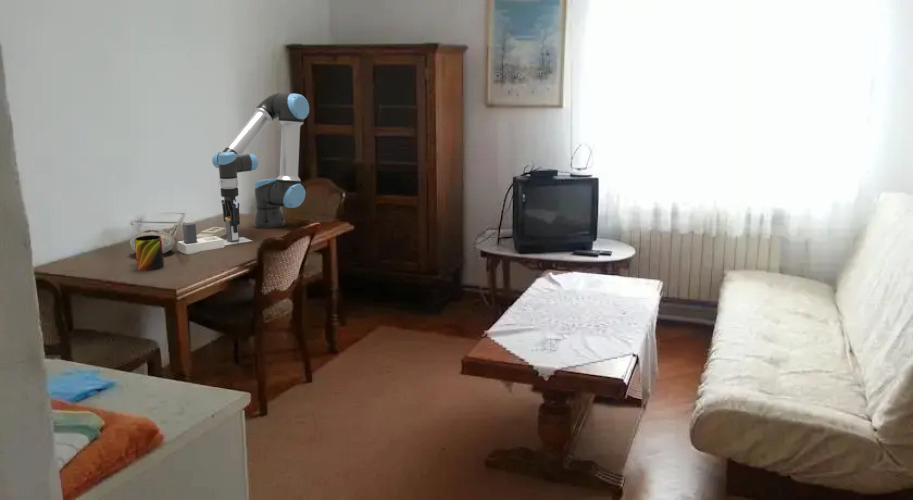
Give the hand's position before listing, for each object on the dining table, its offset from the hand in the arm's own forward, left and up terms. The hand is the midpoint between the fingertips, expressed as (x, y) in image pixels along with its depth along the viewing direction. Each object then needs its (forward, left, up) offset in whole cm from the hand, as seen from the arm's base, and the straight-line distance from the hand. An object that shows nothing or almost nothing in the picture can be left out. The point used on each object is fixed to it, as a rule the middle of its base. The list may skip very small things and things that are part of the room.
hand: (232, 238), depth 351 cm
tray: (0, 0, -2) cm, 2 cm away
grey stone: (+35, -2, -2) cm, 35 cm away
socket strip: (+17, +4, -2) cm, 17 cm away
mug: (+45, +18, -2) cm, 48 cm away
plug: (0, 0, -1) cm, 1 cm away
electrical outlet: (+5, -14, -2) cm, 15 cm away
